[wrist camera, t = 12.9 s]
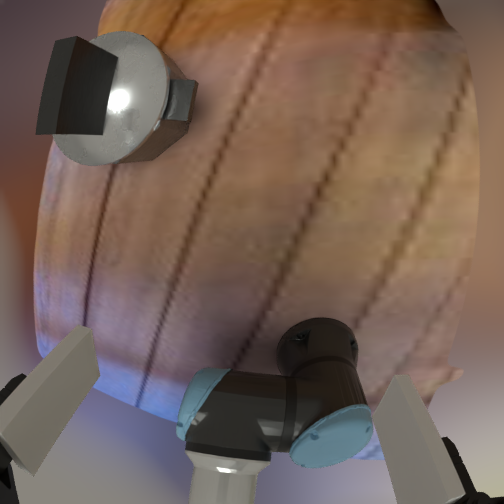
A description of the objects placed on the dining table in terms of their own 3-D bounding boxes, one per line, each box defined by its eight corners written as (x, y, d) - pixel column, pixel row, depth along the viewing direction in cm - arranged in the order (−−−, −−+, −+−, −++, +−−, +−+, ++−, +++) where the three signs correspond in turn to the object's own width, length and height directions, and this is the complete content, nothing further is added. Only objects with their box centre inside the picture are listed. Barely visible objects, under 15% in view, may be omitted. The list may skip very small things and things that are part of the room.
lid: (160, 171, 33) (112, 181, 22) (53, 160, 33) (-5, 169, 22) (187, 35, 28) (153, -7, 16) (75, 44, 27) (23, 24, 16)
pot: (200, 166, 43) (176, 171, 32) (80, 153, 43) (35, 157, 32) (221, 63, 38) (204, 34, 26) (96, 62, 38) (56, 47, 26)
